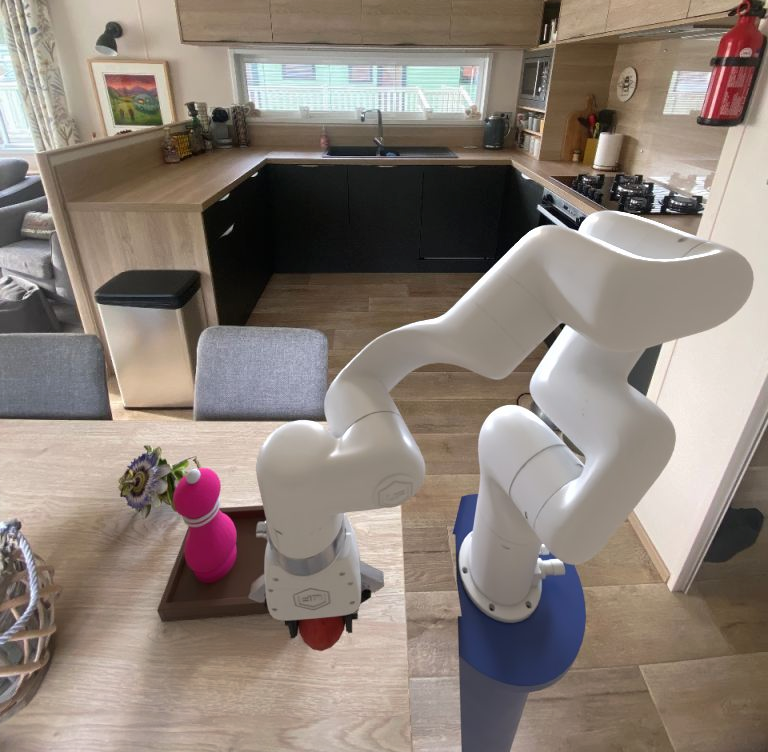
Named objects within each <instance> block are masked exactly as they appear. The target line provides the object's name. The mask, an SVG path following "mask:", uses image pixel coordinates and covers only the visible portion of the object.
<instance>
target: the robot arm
mask: <svg viewBox="0 0 768 752" xmlns="http://www.w3.org/2000/svg"><path fill="white" fill-rule="evenodd" d="M754 279H755V277H754V271H753V268H752V266H751V264H750V262H749V261H748V259H747V258H746V256H743V254H741V253H739V251H737V250H735V249H733V248H731V247H729V246H726V245H723V244H721V243H719V242H715V241H713V240H709V239H706V238H703V237H700V236H697V235H694V234H692V233H689V232H685V231H683V230H679V229H677V228H673V227H670V226H667V225H665V224H662V223H659V222H657V221H654V220H650V219H648V218H644V217H641V216H638V215H635V214H631V213H627V212H622V211H617V210H600V211H599V210H598V211H595V212H593V213H591V214H590V215H588V216H587V217H586V218H585V219H584V220H583V221H582V222H581V224H580V226H579V228H578V230H576V229H573V228H570V227H567V226H563V225H556V224H547V225H546V224H545V225H541V226H538V227H534V228H533V229H532V230H529V232H527V233H526V234H525V235H524V236H522V237H521V238H520V239H519V241H518V242H516V243H515V244H514V246H512V247H511V248H510V249H509V250H508V251H507V252H506V253H505V254H504V255H503V256H502V257H501V258H500V259H499V260H498V261H497V262H496V263H495V264H494V265H493V266H492V267H491V268H490V269H489V270H488V271H487V272H486V273H485V274H484V275H483V276H482V277H481V278H480V279H479V280H477V282H476V283H475V284H474V285H473V286H471V288H470V289H469V290H468V291H467V292H466V293H465V294H463V296H462V297H460V299H459V300H458V301H457V302H456V303H455V304H454V305H453V306H451V308H450V309H449V310H448V311H446V312H445V313H444V314H442V315H440V316H438V317H436V318H432V319H431V318H430V319H426V320H420V321H416V322H412V323H409V324H405V325H403V326H401V327H398V328H395V329H392V330H390V331H388V332H385V333H383V334H381V335H380V336H378V337H376V338H375V339H373V340H371V341H370V342H369V343H368V344H367V345H365V346H364V347H363V348H362V349H361V350H360V352H359V353H357V354H356V355H355V356H354V357H353V358H352V359H351V360H350V362H348V363H347V364H346V365H345V366H344V367H343V369H341V371H340V372H339V373H338V374H336V376H335V378H334V379H333V381H332V382H331V383H330V385H329V388H328V389H327V391H326V394H325V397H324V403H323V410H324V416H325V420H326V423H327V426H328V429H327V427H325V426H324V425H323V424H320V423H318V422H317V421H313V420H307V419H298V420H294V421H289V422H287V423H284V424H283V425H281V426H279V427H277V428H276V429H275V430H273V431H272V433H270V434H269V435H268V436H267V437H266V439H265V440H264V441H263V443H262V445H261V446H260V448H259V451H258V454H257V457H256V462H255V474H256V480H257V486H258V490H259V494H260V498H261V503H262V505H263V507H264V512H265V516H266V520H265V521H264V522H258V524H257V528H256V537H257V538H259V537H263V538H264V539H267V541H268V542H267V546H266V551H265V563H264V574H263V575H261V576H260V577H259V578H258V579H256V580H255V581H254V582H252V583H251V588H250V592H249V598H250V599H252V600H255V601H257V602H260V603H262V602H264V606H265V607H266V608H268V610H269V613H270V614H269V615H270V616H271V618H273V619H274V620H277V621H283V623H284V626H285V627H287V628H288V632H289V637H290V639H296V637H298V633H299V627H298V620H301V619H313V618H324V617H334V616H342V615H344V616H345V632H346V633H347V634H352V633H353V621H355V620H359V619H358V618H359V611H360V607H361V604H363V603H365V602H366V601H368V600H369V599H371V598H372V594H376V593H377V592H378V591H379V590H382V589H383V588H384V587H385V578H384V577H385V574H384V571H382V570H380V569H378V568H376V567H374V566H372V565H370V564H368V563H366V562H364V561H361V555H360V548H359V544H358V539H357V536H356V533H355V530H354V527H353V525H352V523H351V521H350V519H349V517H348V516H347V515H346V513H356V512H364V511H375V510H381V509H391V508H396V507H399V506H401V505H403V504H405V503H406V502H408V501H409V500H410V499H412V498H413V497H414V496H416V494H417V493H418V492H419V491H420V489H421V488H422V486H423V485H424V482H425V479H426V464H425V459H424V456H423V454H422V452H421V450H420V448H419V446H418V444H417V442H416V440H415V438H414V437H413V435H412V433H411V431H410V429H409V428H408V426H407V424H406V422H405V421H404V418H403V417H402V414H401V413H400V410H399V409H398V407H397V405H396V403H395V401H394V400H393V398H392V397H391V394H390V392H391V391H392V390H393V389H394V388H395V387H396V386H397V385H398V384H399V382H401V381H402V380H403V379H404V378H406V376H408V375H409V374H410V373H412V372H414V371H415V370H417V369H419V368H421V367H423V366H427V365H432V364H447V365H453V366H457V367H460V368H464V369H466V370H468V371H471V372H472V373H475V374H478V375H480V376H481V377H485V378H487V379H491V380H503V379H506V378H507V377H508V376H510V375H511V374H512V372H513V371H515V370H516V369H517V367H519V365H520V364H521V363H522V362H523V361H524V360H525V359H527V357H528V356H529V355H530V354H531V353H532V352H533V351H534V350H535V349H536V348H537V347H538V346H540V344H541V343H543V341H544V340H545V339H546V338H547V337H548V336H549V335H550V334H552V332H553V331H555V329H556V328H558V327H559V326H560V325H561V324H564V327H563V329H562V330H561V331H560V333H559V334H558V336H557V337H556V339H555V340H554V342H553V343H552V345H551V346H550V348H549V349H548V350H547V352H546V354H545V355H544V356H543V358H542V360H541V361H540V363H539V364H538V366H537V367H536V369H535V371H534V372H533V374H532V377H531V379H530V382H529V393H530V397H531V398H532V400H533V401H534V403H535V404H536V405H537V407H538V408H539V410H541V411H542V413H543V414H544V415H545V416H546V417H547V418H548V419H549V420H550V421H551V422H552V423H553V424H554V425H555V426H556V427H557V428H558V429H559V430H560V431H561V432H562V433H563V435H564V436H565V437H566V438H567V439H569V441H570V442H571V443H572V444H573V445H574V446H575V447H576V448H577V449H578V450H579V451H580V452H581V453H582V454H583V455H584V458H585V463H583V462H582V461H581V460H580V459H579V458H578V456H576V454H575V453H574V452H573V451H572V450H571V449H570V447H569V446H568V445H567V444H566V443H565V442H564V441H563V439H561V438H560V437H559V436H558V435H557V434H556V433H555V432H554V430H552V428H551V427H549V425H548V424H546V423H545V421H544V420H543V419H541V418H540V417H539V416H538V415H536V413H534V412H533V411H531V410H529V409H528V408H525V407H523V406H521V405H516V404H507V405H503V406H500V407H497V408H496V409H494V410H493V411H492V412H491V413H490V414H489V415H488V416H487V417H486V419H485V420H484V422H483V424H482V426H481V428H480V432H479V435H478V442H477V445H478V446H477V452H478V453H477V455H478V464H479V489H478V493H477V494H478V499H477V506H476V513H475V519H474V526H473V531H472V532H470V533H469V534H468V535H467V536H466V538H465V539H464V541H463V543H462V545H461V548H460V552H459V574H460V578H461V581H462V584H463V587H464V589H465V591H466V593H467V595H468V596H469V597H470V599H471V600H472V602H473V603H474V604H475V605H476V606H477V607H478V608H479V609H480V610H481V611H482V612H483V613H485V614H486V615H487V616H489V617H491V618H493V619H495V620H498V621H501V622H505V623H515V622H520V621H523V620H524V619H526V618H528V617H529V616H530V615H531V614H532V613H533V612H534V611H535V609H536V607H537V606H538V603H539V600H540V596H541V591H542V580H541V579H545V578H546V575H553V576H555V575H565V567H564V564H563V562H564V563H566V564H570V565H575V566H576V565H582V564H585V563H586V562H588V561H590V560H592V559H593V558H594V557H595V556H597V555H598V554H599V553H600V552H601V551H602V550H603V549H604V548H605V547H606V546H607V545H608V543H609V542H610V541H611V539H612V538H613V537H614V536H615V534H616V533H617V532H618V531H619V529H620V528H621V527H622V525H623V524H624V523H625V521H626V520H627V519H628V518H629V516H630V515H631V514H632V512H633V511H634V509H635V508H636V507H637V506H638V505H639V503H641V500H642V499H643V498H644V497H645V495H646V494H647V493H648V492H649V490H650V489H651V487H652V486H653V485H655V482H656V481H657V480H658V478H659V477H660V476H661V474H662V473H663V472H664V470H665V468H666V467H667V465H668V464H669V462H670V460H671V458H672V456H673V453H674V451H675V446H676V441H677V434H676V429H675V426H674V424H673V421H672V419H670V417H669V416H668V414H667V413H666V412H664V409H663V410H662V408H660V406H658V405H657V404H656V403H655V402H654V401H653V400H651V399H650V398H648V397H647V396H646V395H644V394H643V393H641V392H640V391H639V390H638V389H637V388H635V387H634V386H632V385H631V384H629V382H628V377H629V375H630V373H631V372H632V370H633V368H634V367H635V365H636V364H637V362H639V360H640V358H641V357H642V355H643V354H644V353H645V351H646V349H649V348H653V347H656V346H660V345H662V344H666V343H669V342H672V341H675V340H679V339H683V338H687V337H690V336H693V335H696V334H697V335H698V334H700V333H704V332H707V331H709V330H710V331H711V330H712V329H714V328H717V327H719V326H720V325H722V324H724V323H726V322H728V320H730V319H731V318H732V317H734V316H735V315H736V314H737V313H738V312H739V311H740V310H741V309H742V308H743V307H744V305H745V304H746V303H747V301H748V299H749V298H750V296H751V294H752V291H753V286H754V281H755V280H754ZM542 543H543V544H542ZM549 551H550V552H551V554H552V555H554V556H555V557H556V558H557V559H549V560H546V561H542V560H541V558H538V557H539V555H549ZM463 572H465V573H466V574H464V573H463ZM527 606H528V607H529V608H528V607H527ZM490 609H492V610H493V611H491V610H490Z"/></svg>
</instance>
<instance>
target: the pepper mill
mask: <svg viewBox="0 0 768 752" xmlns="http://www.w3.org/2000/svg"><path fill="white" fill-rule="evenodd" d="M175 487H176V489H175V491H174V497H173V501H174V506H175V509H176V511H177V512H176V511H175V512H176V513H178V514H179V516H181V517H182V520H183V522H184V524H185V525H186V526H188V527H189V532H188V535H187V538H186V542H185V548H184V553H185V559H186V562H187V564H188V566H189V567H190V568H191V569H192V570H193V571H194V574H195V577H196V578H197V579H198V580H199V581H200V582H203V583H213V582H216V581H218V580H220V579H221V578H223V577H224V576H225V575H226V574H227V573H228V572H229V571H230V569H231V568H232V566H233V564H234V562H235V559H236V555H237V549H236V544H235V543H236V536H237V534H236V529H235V526H234V523H233V522H232V520H231V519H230V518H229V517H228V516H227V515H225V514H223V513H222V512H221V511H220V510H219V508H221V497H220V495H221V490H222V489H221V488H222V486H221V480H220V477H219V475H218V474H217V472H215V471H214V470H213V469H212V468H208V467H201V468H198V467H197V468H191V469H190V470H189V471H188V472H187V474H186V475H185V476H184V477H183V478H182V479H181V480H180V481H179V483H178V482H177V485H175Z"/></svg>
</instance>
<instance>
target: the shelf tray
mask: <svg viewBox="0 0 768 752" xmlns="http://www.w3.org/2000/svg"><path fill="white" fill-rule="evenodd" d="M219 510H220V511H221V512H222V513H223V514H225V515H227V516H228V517H229V518H230V519H231V520H232V522H233V523H234V526H235V529H236V534H237V536H236V543H235V544H236V549H237V555H236V559H235V562H234V564H233V566H232V568H231V569H230V571H229V572H228V573H227V574H226V575H225V576H224V577H223V578H221V579H220V580H218V581H216V582H213V583H203V582H200V581H199V580H198V579H197V578H196V577H195V574H194V571H193V570H192V569H191V568H190V567H189V566H188V564H187V562H186V559H185V553H184V548H185V542H186V538H187V535H188V532H189V526H188V527H187V530H186V532H185V535H184V536H183V537H184V538H183V540H182V543H181V545H180V548H179V551H178V553H177V557H176V559H175V561H174V564H173V567H172V570H171V572H170V574H169V578H168V580H167V583H166V586H165V588H164V591H163V592H162V593H163V594H162V596H161V599H160V601H159V604H158V606H157V609H156V612H157V614H158V616H159V618H160V622H161V623H166V622H168V623H169V622H180V621H193V620H194V621H195V620H207V619H209V620H210V619H219V618H233V617H246V616H259V615H271V614H270V613H269V610H268V608H266V607H265V606H264V602H262V603H260V602H257V601H255V600H252V599H250V598H249V592H250V588H251V583H252V582H254V581H255V580H256V579H258V578H259V577H260V576H261V575H263V574H264V563H265V551H266V546H267V542H268V541H267V539H264V538H263V537H259V538H257V537H256V528H257V524H258V522H264V521H265V520H266V516H265V512H264V507H263V504H262V505H249V506H248V505H245V506H244V505H243V506H230V507H220V508H219Z"/></svg>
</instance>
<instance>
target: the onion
mask: <svg viewBox="0 0 768 752" xmlns="http://www.w3.org/2000/svg"><path fill="white" fill-rule="evenodd" d="M345 628H346V626H345V616H344V615H342V616H334V617H324V618H313V619H301V620H298V633H299V635H300V637H301V639H302V641H303V643H304V644H305V645H306V646H308V647H309V648H310V649H312V650H313V651H319V652H323V651H326V650H329V649H331V648H333V646H335V644H337V643H338V642H339V640H340V638H341V636H342V635H343V633H344V631H345Z"/></svg>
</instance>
